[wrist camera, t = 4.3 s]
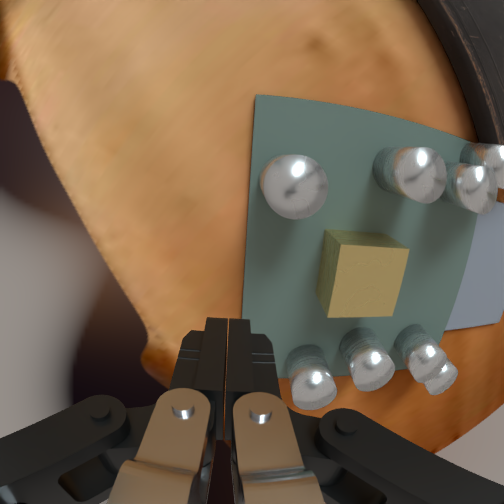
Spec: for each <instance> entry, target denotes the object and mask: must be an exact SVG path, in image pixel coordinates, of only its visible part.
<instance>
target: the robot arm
mask: <svg viewBox="0 0 504 504" xmlns="http://www.w3.org/2000/svg"><path fill="white" fill-rule="evenodd" d="M227 326H228V318H211V317H207V320H206V325H205V330H204V331H196V330H191V331H190V332H189V333H188V334H187V335H186V336H185V337H184V338H183V340H182V344H181V347H180V351H179V354H178V359H177V362H176V365H175V369H174V373H173V376H172V380H171V384H170V388H169V391H167V392H166V393H164V394H163V395H162V396H161V397H160V398H159V399H158V401H157V403H156V404H153V405H151V406H147V407H139V408H127V409H125V407H124V405H123V404H122V403H121V402H120V401H119V400H118V399H116V398H114V397H112V396H108V395H96V396H92V397H90V398H87V399H85V400H83V401H81V402H79V403H77V404H75V405H73V406H71V407H69V408H67V409H65V410H62V411H61V412H58V413H56V414H54V415H52V416H50V417H48V418H45V419H43V420H41V421H39V422H37V423H35V424H32V425H30V426H28V427H26V428H23V429H21V430H19V431H16V432H14V433H12V434H10V435H7V436H5V437H2V438H0V504H99V503H101V502H103V501H105V500H106V499H108V498H109V499H108V501H107V504H206V502H207V497H208V490H209V484H210V478H211V471H212V465H213V457H214V455H215V443H216V440H223V423H224V401H225V440H231V467H232V477H233V488H234V498H235V504H325V503H326V504H504V486H503V485H500V484H498V483H495V482H493V481H491V480H488V479H486V478H484V477H481V476H479V475H477V474H475V473H472V472H470V471H468V470H466V469H464V468H461V467H459V466H457V465H455V464H453V463H451V462H449V461H447V460H445V459H443V458H440V457H439V456H437V455H435V454H433V453H431V452H429V451H427V450H425V449H423V448H421V447H419V446H418V445H416V444H414V443H412V442H410V441H408V440H406V439H405V438H403V437H401V436H399V435H397V434H396V433H394V432H392V431H390V430H389V429H387V428H385V427H383V426H382V425H380V424H378V423H376V422H375V421H373V420H371V419H370V418H368V417H366V416H365V415H363V414H361V413H360V412H358V411H355V410H352V409H346V408H340V409H335V410H331V411H329V412H328V413H326V414H325V415H324V416H323V417H322V418H317V417H312V416H307V415H302V414H299V413H297V412H295V411H293V410H291V409H290V408H288V407H287V406H286V404H285V403H284V402H283V401H282V398H281V395H280V389H279V383H278V377H277V370H276V364H275V358H274V351H273V345H272V342H271V341H270V340H269V338H268V337H267V336H266V335H265V334H254V333H251V326H250V319H230V318H229V334H228V352H227ZM226 360H227V371H226ZM225 381H226V391H225ZM324 502H325V503H324Z"/></svg>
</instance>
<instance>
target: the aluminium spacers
mask: <svg viewBox="0 0 504 504" xmlns="http://www.w3.org/2000/svg"><path fill="white" fill-rule="evenodd" d="M372 170H373V176H374V179H375V181H376V183H377V184H378V185H379V187H380V188H382V189H383V190H385V191H387V192H390V193H394V194H397V195H400V196H403V197H406V198H409V199H411V200H414V201H417V202H420V203H425V204H426V203H432V202H434V201H435V200H437V199H438V198H439V199H440V200H442V201H444V202H447V203H450V204H453V205H456V206H459V207H462V208H464V209H467V210H470V211H473V212H475V213H478V214H482V215H483V214H487V213H488V212H490V211H491V209H492V208H493V206H494V205H495V202H496V199H497V194H498V188H501V189H504V145H497V144H485V143H467V144H466V145H464V147H463V148H462V150H461V154H460V162H452V161H443V159H442V157H441V156H440V155H439V154H438V153H437V152H436V151H435V150H433V149H431V148H427V147H385V148H383V149H382V150H380V151H379V152H378V153H377V155H376V156H375V158H374V161H373V167H372ZM259 184H260V188H261V190H262V192H263V195H264V197H265V199H266V201H267V203H268V204H269V206H270V207H271V208H272V209H273V210H274V211H275V212H276V213H277V214H279V215H280V216H282V217H285V218H288V219H303V218H307V217H309V216H311V215H313V214H314V213H316V212H317V211H318V210H319V209H320V208H321V207H322V205H323V204H324V202H325V200H326V197H327V194H328V180H327V176H326V174H325V172H324V170H323V169H322V167H321V166H320V165H319V164H318V163H317V162H316V161H315V160H313V159H311V158H309V157H307V156H304V155H277V156H275V157H272V158H271V159H269V160H268V161H267V162H266V163H265V164H264V165H263V167H262V169H261V171H260V175H259ZM339 348H340V352H341V354H342V356H343V358H344V361H345V363H346V365H347V367H348V370H349V372H350V374H351V377H352V379H353V381H354V384H355V386H356V388H357V389H359V390H361V391H373V390H376V389H378V388H380V387H382V386H384V385H385V384H386V383H387V382H388V381H389V380H390V379H391V378H392V376H393V374H394V372H395V365H394V363H393V361H392V360H391V358H390V357H389V355H388V353H387V352H386V350H385V349H384V347H383V346H382V344H381V342H380V341H379V339H378V338H377V336H376V335H375V333H374V332H373V330H372V329H370V328H368V327H357V328H354V329H352V330H350V331H349V332H348V333H346V334H345V335H344V337H343V338H342V340H341V342H340V347H339ZM394 348H395V350H396V352H397V353H398V354H399V356H400V357H401V359H402V360H403V362H404V363H405V365H406V366H407V368H408V369H409V371H410V373H411V374H412V376H413V377H414V379H415V380H416V381H417V382H419V383H423V384H424V385H425V387H426V388H427V390H428V392H429V393H430V394H431V395H437V394H440V393H442V392H444V391H445V390H447V389H448V388H449V387H450V386H451V385H452V384H453V382H454V381H455V379H456V378H457V375H458V370H457V369H456V367H455V366H454V365H453V364H452V363H451V361H450V360H449V359H448V358H447V356H446V354H445V352H444V351H443V350H442V349H441V348H440V347H439V345H438V344H437V343H436V342H435V341H434V340H433V338H432V337H431V336H430V335H429V334H428V333H427V332H426V330H425V329H424V328H423V327H422V326H421V325H419V324H412V325H409V326H407V327H405V328H404V329H403V330H402V331H401V332H400V333H399V334H398V335H397V337H396V339H395V342H394ZM286 366H287V371H288V376H289V382H290V387H291V392H292V398H293V402H294V404H295V405H296V406H297V407H298V408H300V409H304V410H315V409H319V408H322V407H324V406H326V405H328V404H329V403H330V402H332V401H333V399H334V398H335V397H336V394H337V388H336V385H335V383H334V380H333V377H332V374H331V371H330V369H329V366H328V363H327V361H326V358H325V355H324V352H323V350H322V349H321V348H320V347H318V346H316V345H312V344H305V345H301V346H298V347H296V348H294V349H293V350H292V351H291V352H290V353H289V354H288V356H287V358H286Z"/></svg>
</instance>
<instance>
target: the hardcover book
mask: <svg viewBox="0 0 504 504" xmlns="http://www.w3.org/2000/svg"><path fill="white" fill-rule="evenodd" d="M417 1H418V2H419V4H420V6H421V7H422V9H423V10H424V12H425V14H426V15H427V17H428V19H429V20H430V22H431V24H432V26H433V28H434V29H435V31H436V33H437V35H438V37H439V39H440V41H441V43H442V45H443V47H444V49H445V51H446V53H447V55H448V57H449V59H450V61H451V64H452V66H453V68H454V70H455V73H456V75H457V77H458V80H459V82H460V85H461V87H462V90H463V93H464V95H465V98H466V101H467V104H468V107H469V109H470V112H471V116H472V119H473V122H474V125H475V128H476V132H477V135H478V139H479V143H485V144H497V145H504V0H417Z"/></svg>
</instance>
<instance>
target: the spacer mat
mask: <svg viewBox="0 0 504 504" xmlns="http://www.w3.org/2000/svg"><path fill="white" fill-rule="evenodd" d="M467 143H472V142H470V141H467V140H465V139H462V138H459V137H457V136H454V135H451V134H448V133H445V132H443V131H440V130H437V129H434V128H431V127H427V126H424V125H421V124H418V123H414V122H411V121H407V120H404V119H400V118H396V117H393V116H389V115H385V114H381V113H377V112H372V111H368V110H363V109H358V108H354V107H349V106H343V105H338V104H332V103H326V102H320V101H313V100H306V99H298V98H290V97H280V96H270V95H257V94H256V99H255V114H254V129H253V144H252V159H251V174H250V190H249V205H248V221H247V238H246V254H245V271H244V288H243V305H242V319H250V326H251V333H254V334H265V335H266V336H267V337H268V338H269V340H270V341H271V342H272V345H273V351H274V358H275V364H276V370H277V377H278V378H289V376H288V371H287V366H286V358H287V356H288V354H289V353H290V352H291V351H292V350H293V349H294V348H296V347H298V346H301V345H305V344H312V345H316V346H318V347H320V348H321V349H322V350H323V352H324V355H325V358H326V361H327V363H328V366H329V369H330V371H331V374H332V377H333V376H348V375H351V374H350V372H349V370H348V367H347V365H346V363H345V361H344V358H343V356H342V354H341V352H340V348H339V347H340V342H341V340H342V338H343V337H344V335H345V334H346V333H348V332H349V331H350V330H352V329H354V328H357V327H368V328H370V329H372V330H373V332H374V333H375V335H376V336H377V338H378V339H379V341H380V342H381V344H382V346H383V347H384V349H385V350H386V352H387V353H388V355H389V357H390V358H391V360H392V361H393V363H394V365H395V370H403V369H408V368H407V366H406V365H405V363H404V362H403V360H402V359H401V357H400V356H399V354H398V353H397V352H396V350H395V348H394V342H395V339H396V337H397V335H398V334H399V333H400V332H401V331H402V330H403V329H404V328H405V327H407V326H409V325H412V324H419V325H421V326H422V327H423V328H424V329H425V330H426V332H427V333H428V334H429V335H430V336H431V337H432V338H433V340H434V341H435V342H436V343H437V344H438V345H439V343H440V341H441V338H442V336H443V333H444V331H445V328H446V326H447V323H448V320H449V318H450V315H451V312H452V310H453V307H454V304H455V301H456V298H457V295H458V292H459V289H460V285H461V282H462V279H463V275H464V272H465V268H466V265H467V261H468V257H469V253H470V249H471V245H472V240H473V236H474V231H475V226H476V221H477V215H478V213H475V212H473V211H470V210H467V209H464V208H462V207H459V206H456V205H453V204H450V203H447V202H444V201H442V200H440V199H439V198H438V199H437V200H435V201H434V202H432V203H426V204H425V203H420V202H417V201H414V200H411V199H409V198H406V197H403V196H400V195H397V194H394V193H390V192H387V191H385V190H383V189H382V188H380V187H379V185H378V184H377V183H376V181H375V179H374V176H373V170H372V167H373V161H374V158H375V156H376V155H377V153H378V152H379V151H380V150H382V149H383V148H385V147H427V148H431V149H433V150H435V151H436V152H437V153H438V154H439V155H440V156H441V157H442V159H443V161H452V162H460V154H461V150H462V148H463V147H464V145H466V144H467ZM277 155H304V156H307V157H309V158H311V159H313V160H315V161H316V162H317V163H318V164H319V165H320V166H321V167H322V169H323V170H324V172H325V174H326V176H327V180H328V194H327V197H326V200H325V202H324V204H323V205H322V207H321V208H320V209H319V210H318V211H317V212H316V213H314V214H313V215H311V216H309V217H307V218H303V219H288V218H285V217H282V216H280V215H279V214H277V213H276V212H275V211H274V210H273V209H272V208H271V207H270V206H269V204H268V203H267V201H266V199H265V197H264V195H263V192H262V190H261V188H260V184H259V175H260V171H261V169H262V167H263V165H264V164H265V163H266V162H267V161H268V160H269V159H271V158H272V157H275V156H277ZM325 229H333V230H346V231H358V232H370V233H382V234H387V235H389V236H390V237H392V238H393V239H395V240H396V241H398V242H400V243H401V244H403V245H404V246H406V247H407V248H409V249H410V250H409V254H408V259H407V263H406V267H405V271H404V276H403V279H402V283H401V287H400V291H399V295H398V298H397V302H396V305H395V309H394V312H393V315H392V316H384V317H341V318H327V316H326V314H325V312H324V309H323V307H322V305H321V303H320V301H319V299H318V297H317V295H316V293H315V292H316V286H317V280H318V274H319V268H320V261H321V254H322V247H323V240H324V233H325Z"/></svg>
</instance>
